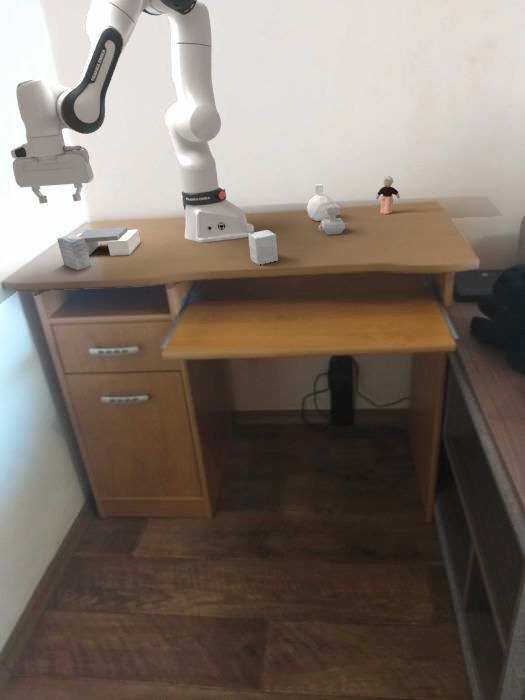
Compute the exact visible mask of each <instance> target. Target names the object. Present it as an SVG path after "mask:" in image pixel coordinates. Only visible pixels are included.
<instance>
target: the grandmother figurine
mask: <svg viewBox="0 0 525 700" xmlns="http://www.w3.org/2000/svg"><path fill="white" fill-rule="evenodd" d="M382 182H383V187H381V188H380V189H379V191H377V194H376V196H375V199H376V200H379V199H380V196H381V195H382V196H381V201H380V202H381V203H380V212H379V214H380V215H381V214H382V213H384V214H382V215H390V214H389V213H391V214H392V213H393V208H394V203H393V202H394V201H393V200H394V197H393V195H395V197H396V198H397V199H400V198H401V195H400V194H399V190H397V189H396V188H395V187H393V186H392V184H393V183H394V179H393V177H392V176H390V175H385V176H384V177H383V179H382Z"/></svg>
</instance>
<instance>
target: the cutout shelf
mask: <svg viewBox="0 0 525 700" xmlns="http://www.w3.org/2000/svg"><path fill="white" fill-rule="evenodd" d="M76 236H78V237H82V238H84V239H85V243H86V247H87V251H88V255H89V256H90V255H91V254H92V253H93V252H95V250H96V249H98V247H100V246H101V242H107V246H108V251H109V255H110V256H113V257H114V256H129V255H131V254H132V253H133V252H134V251H135V249H136V248H138V245H140V243H141V238H140V233H139V229H128V227H126V226H124V227H112V228H110V227H109V228H97V229H95V228H94V229H86V230H84V231H83V232H82V233H78V234H77V235H76Z"/></svg>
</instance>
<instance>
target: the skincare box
mask: <svg viewBox="0 0 525 700" xmlns="http://www.w3.org/2000/svg"><path fill="white" fill-rule="evenodd" d="M247 238H248V246H249V254H250V255H249V256H250V260H251V261H252V262H253V263H255V265H258V266H260V264H261V265H266V264H269V263H270V262H271V263H274V261H276V262H278V261H279V255H278V253H279V252H278V245H277V234H276V233H273V232H272V231H270V230H269V229H264V230H260V231H256V232H255V231H254V233H249V234H248V237H247ZM265 263H266V264H265Z"/></svg>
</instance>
